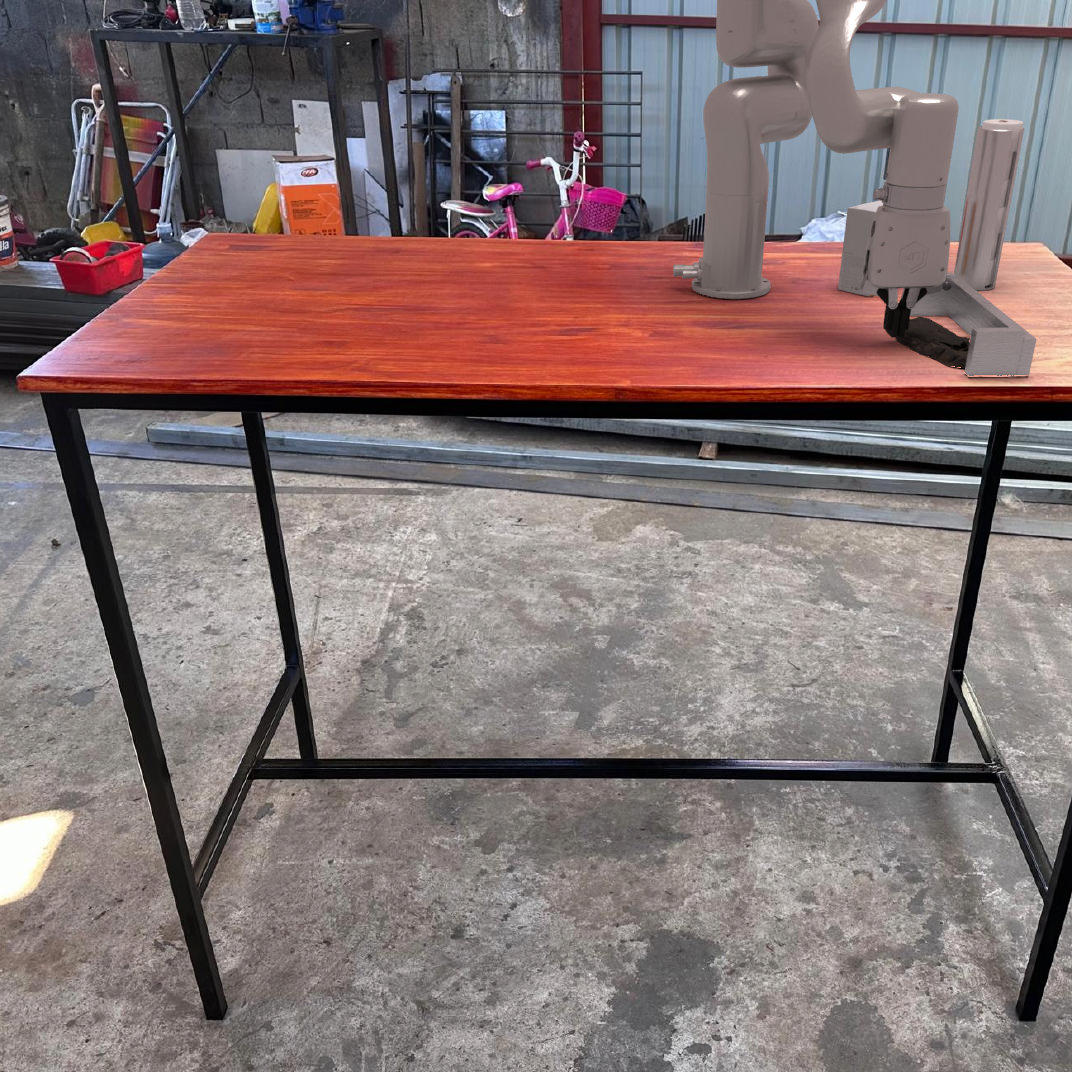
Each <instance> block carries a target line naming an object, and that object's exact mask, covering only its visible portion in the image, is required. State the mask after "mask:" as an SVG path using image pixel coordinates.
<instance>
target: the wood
mask: <svg viewBox="0 0 1072 1072" xmlns="http://www.w3.org/2000/svg"><path fill="white" fill-rule="evenodd" d="M970 339H971V337H967V336H960V335H958V334H956V333H955V332H953V331H951V330H950V329H948V328H947V327H944V325H942V324H940V323H938V322H936V321H934V320H933V319H930V318H928V317H925V316H916V317H915V318H910V320H909V327H908V329H907V330H905V333H904V337H901V338H899V337H898V336H897V337H896V338H895V340H896V342H897V343H899V344H900V345H903V346H905V347H907V348H909V349H910V350H912V351H914V352H915V353H917V354H918V353H919V355H921V356H925V357H927V356H929V357H928V358H930V357H931V358H930V359H934V360H936V361H937V362H940V363H941V362H942V363H941V364H943V363H944V364H943V365H945V366H947V367H949V366H955V367H961V368H965V366H966V361H967V355H968V350H969V344H970Z"/></svg>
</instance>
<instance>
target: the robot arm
mask: <svg viewBox="0 0 1072 1072" xmlns="http://www.w3.org/2000/svg"><path fill="white" fill-rule="evenodd" d="M886 1H887V0H815V3H816V6H817V11H818V16H819V20H818V16H817V13H816V11H815V9H814V7H813V5H812V4H811V3H810V1H809V0H716V25H715V26H716V27H715V29H716V31H715V33H716V35H715V37H716V38H715V39H716V40H715V41H716V42H715V43H716V44H715V45H716V51H717V54H718V58H719V60H721V62H722V63H724V64H725V65H726V66H729V67H732V68H740V69H741V68H743V69H744V68H745V69H746V68H755V67H756V68H758V67H767V75H763V76H762V75H758V76H748V77H747V76H745V77H738V78H734V79H733V78H732V79H729V80H725V81H723V82H720V83H719V84H718V85H717V86H715V87H713V89H712V90H711V91H710V92H709V94H708V95H707V97H706V100H705V102H704V105H703V112H702V113H703V116H702V118H703V128H704V136H705V145H706V156H707V157H706V166H707V168H706V187H705V190H706V195H705V211H704V212H705V213H704V232H703V233H704V234H703V252H702V257H700V256H699V258H698V262H697V261H696V262H693V263H692V264H685V263H684V264H683V263H681V264H680V263H679V264H673V266H672V272H673V275H672V276H673V277H682V278H681V279H683V280H685V279H686V280H687V279H689V280H690V279H692V281H691V289H692V290H693V291H694V290H695V291H696V292H695V291H694V292H695V293H697V292H698V293H697V294H699V293H700V294H699V295H701V294H702V296H704V295H707V296H706V297H709V296H710V297H709V298H714V297H716V299H723V298H724V299H725V300H726V299H728V300H740V299H741V300H743V299H753V298H758V297H761V296H764V295H766V294H768V293H770V291H771V286H772V284H771V281H770V280H769V279H768V278H766V277H763V275H762V273H763V263H764V261H763V260H764V250H765V249H764V248H765V237H766V227H767V226H766V224H767V211H768V202H769V201H768V200H769V187H770V185H769V184H770V183H769V182H770V175H769V174H770V173H769V168H768V164H767V162H766V161H767V160H766V158H765V155H764V154H763V150H762V148H761V145H763V144H766V143H767V144H769V143H774V142H775V143H776V142H782V141H783V142H784V141H789V140H793V139H795V138H798V137H799V136H801V135H802V134H803V133H804V132H805V131H806V130H807V128H808V127H809V125H810V123H811V121H812V119H813V122H814V123H813V124H814V126H815V129H816V131H817V134H818V137H819V138H820V140H821V142H822V143H823V145H824V146H825V147H826V148H827V149H828V150H829V151H832V152H834V153H838V154H854V153H859V152H867V151H868V152H869V151H874V150H875V151H876V150H878V151H879V150H883V149H884V150H885V149H889V155H888V161H887V162H888V163H887V168H886V176H885V177H886V178H885V181H884V182H883V185H882V187H880V188H873V189H874V190H873V191H872V192H873V193H872V199H873V200H876V201H878V200H880V201H882V203H883V206H879V207H878V208H877V211H876V214H875V217H874V220H873V223H872V227H871V230H870V234H869V238H868V243H867V248H866V253H865V258H864V265H863V276H864V278H863V281H862V284H861V286H860V289H861V291H862V292H863V293H866V294H870V295H872V296H876V297H879V298H880V300H881V301H882V302H883V303H884V304H885V308H884V309H885V310H884V316H883V324H882V326H883V330H884V331H885V333H886V334H887V335H888V336H889V337H890V338H891V339H892V338H894V339H896V337H897V336H898V337H899V338H901V337H904V333H905V330H907V329H908V327H909V320H910V319H911V316H910V314H911V309H912V308H914V307H915V305H916V303H917V302H918V301H919V300H920V299H922V298H923V297H924V296H925V295H927V294H932V293H936V292H940V291H941V290H942V288H943V286H942V284H943V283H944V282H945V280H946V276H947V272H948V270H949V260H950V258H949V257H950V251H951V250H950V247H951V210H950V208H949V207H946V206H945V199H946V191H947V185H948V179H949V174H950V167H951V162H952V161H951V160H952V156H953V148H954V142H955V135H956V130H957V123H958V118H959V117H958V116H959V103H958V101H957V99H956V98H955V97H954V96H952V95H949V94H944V93H937V92H936V93H934V92H933V93H931V92H926V93H924V92H923V93H921V92H918V91H916V90H914V89H913V90H912V89H909V88H905V87H901V86H888V87H876V88H875V87H874V88H865V89H857V90H856V88H855V83H854V79H853V73H852V69H851V46H852V43H853V39H854V36H856V35H855V34H856V32H857V31H858V29H859V28H860V27H861V25H863V24H865V23H866V22H867V21H869V20H870V19H872V18H873V17H874V16H876V15H877V14H878V13H879V12H881V10H882V9H883V7H885V4H886ZM898 289H903V290H902V292H901V296H900V299H899V298H898V297H899V296H898V295H899V293H898V292H899V290H898ZM898 300H899V301H898Z"/></svg>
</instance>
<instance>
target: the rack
mask: <svg viewBox="0 0 1072 1072" xmlns="http://www.w3.org/2000/svg"><path fill="white" fill-rule="evenodd" d="M955 276H956V275H955V274H954V272H951V271H950V272H949V271H947V276H946V280H945V282H944V283H943V284H942V286H943V288H942V290H941V291H940V292H936V293H932V294H927V295H925V296H924V297H923V298H922V299H920V300H919V301H918V302H917V303H916V305H915V307H914V308H912V309H911V314H910V317H926V316H927V317H928V316H930V317H931V316H932V317H934V316H936V317H937V316H939V317H942V316H944V317H945V316H948V317H949V318H951V320H953V321H954V322H955V323H956V324H957V325H958V326H959V327H960V328H961V329H962V330H963V331H965V333H966V334H968V335H969V336H970V340H969V342H970V344H969V350H968V355H967V361H966V366H965V369H964V372H965V373H966V374H967V375H969V376H974V375H997V376H999V375H1000V376H1002V375H1007V376H1008V375H1011V376H1012V375H1013V376H1014V375H1029V376H1030V373H1031V367H1032V362H1033V357H1034V353H1035V348H1036V343H1037V338H1036V337H1035V336H1034V335H1032V333H1030V332H1029V331H1027V330H1026V329H1024V328H1023V326H1022V325H1020V324H1018V323H1017V322H1016V321H1014V319H1013V318H1011V317H1010V316H1009V315H1008V314H1006V313H1005V312H1003V311H1002V310H1001V309H1000V308H999V307H997V305H995V304H993V303H992V302H991V301H990V300H988V299H987V298H986V297H984V295H982V294H981V293H980V292H979V291H976V290H974V289H973V288H972V287H971V286H969V285H968V284H967V283H966V282H964V281H963V280H962V279H955Z"/></svg>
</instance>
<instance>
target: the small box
mask: <svg viewBox="0 0 1072 1072" xmlns="http://www.w3.org/2000/svg"><path fill="white" fill-rule="evenodd" d="M879 206H883V203H882V201H880V200H879V201H878V200H876V201H871V202H867V203H866V202H865V203H862V204H859V205H853V206H849V207H847V208H846V209H847V210H846V217H845V219H846V220H845V226H844V236H843V237H844V238H843V244H842V251H841V252H842V253H841V261H840V270H839V276H838V277H839V279H838V286H837V290H839V291H843V292H847V293H851V294H855V295H858V296H859V295H860V296H864V297H872V296H873V295H870V294H866V293H863V292H862V291H861V289H860V286H861V284H862V281H863V278H864V276H863V265H864V258H865V253H866V248H867V243H868V238H869V234H870V230H871V227H872V223H873V220H874V217H875V214H876V211H877V208H878V207H879Z"/></svg>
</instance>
